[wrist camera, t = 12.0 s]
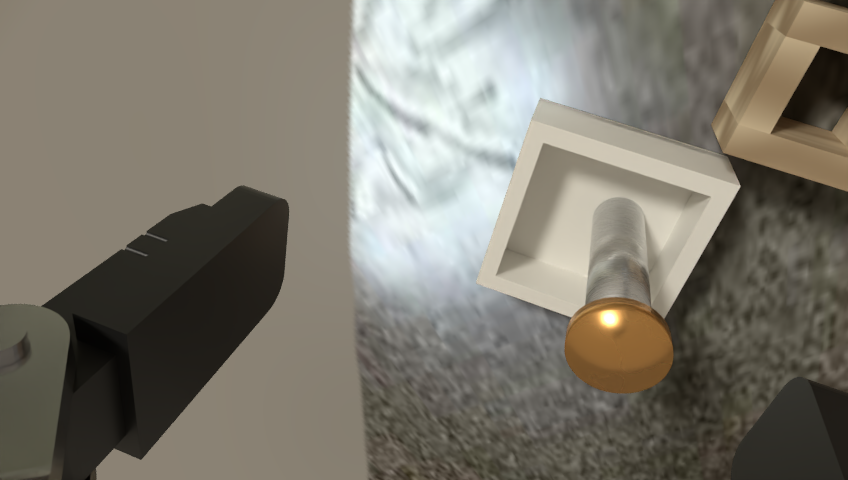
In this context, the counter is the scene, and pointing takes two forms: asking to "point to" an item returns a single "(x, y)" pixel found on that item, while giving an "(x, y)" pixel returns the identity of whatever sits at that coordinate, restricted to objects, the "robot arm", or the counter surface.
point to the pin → (618, 308)
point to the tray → (587, 188)
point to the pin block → (786, 95)
